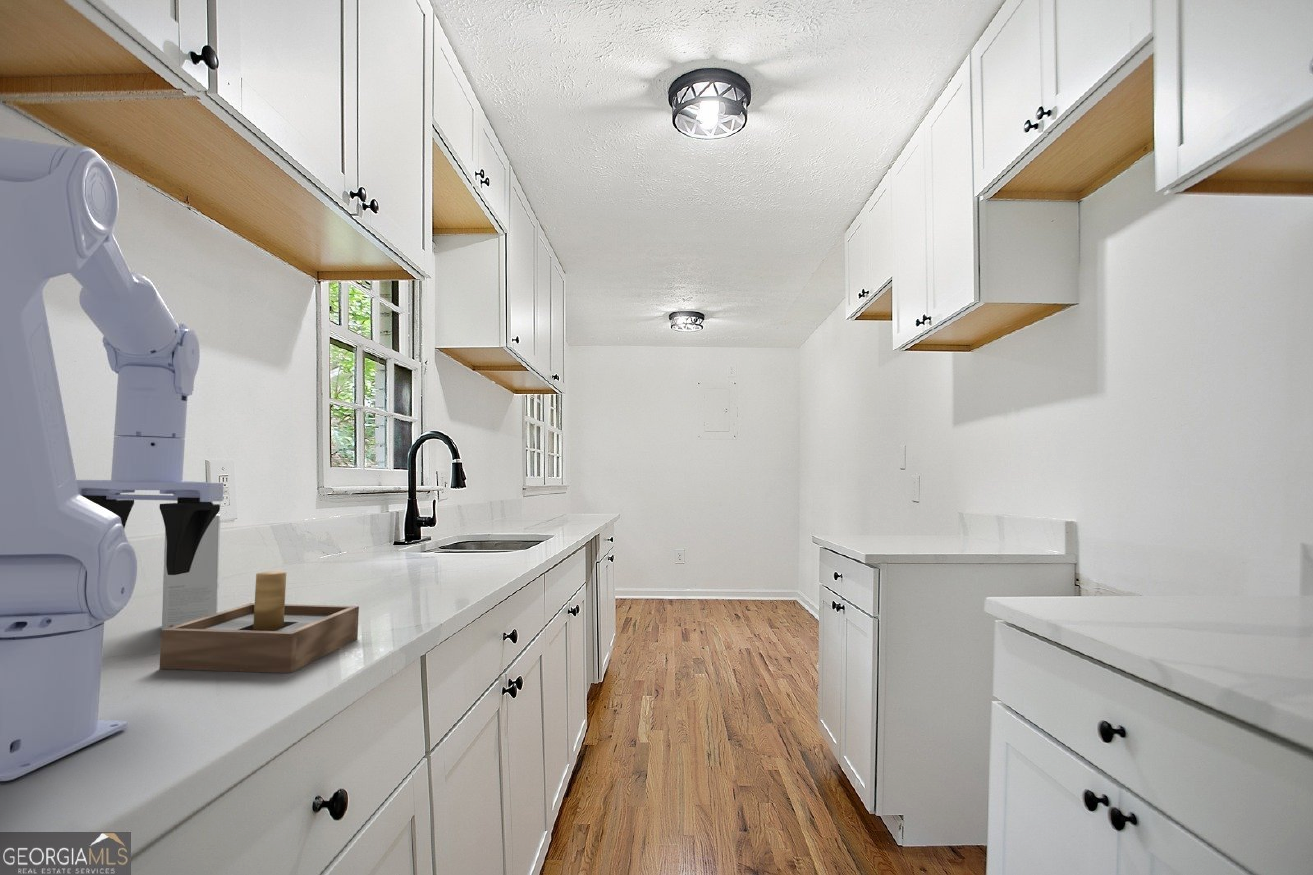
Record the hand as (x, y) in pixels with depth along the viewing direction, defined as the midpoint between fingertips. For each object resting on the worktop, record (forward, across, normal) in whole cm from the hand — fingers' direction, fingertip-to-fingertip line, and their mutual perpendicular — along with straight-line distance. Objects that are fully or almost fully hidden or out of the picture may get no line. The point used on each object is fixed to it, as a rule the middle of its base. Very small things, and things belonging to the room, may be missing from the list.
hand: (141, 572), depth 65 cm
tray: (+10, -7, -10) cm, 16 cm away
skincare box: (+11, +10, -20) cm, 25 cm away
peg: (+9, -7, -10) cm, 15 cm away
